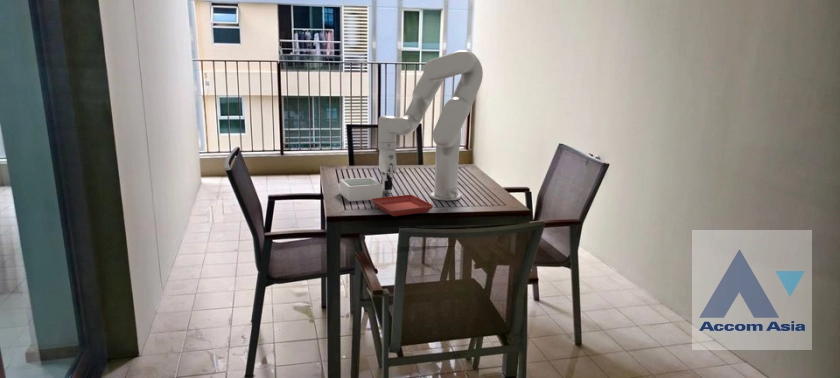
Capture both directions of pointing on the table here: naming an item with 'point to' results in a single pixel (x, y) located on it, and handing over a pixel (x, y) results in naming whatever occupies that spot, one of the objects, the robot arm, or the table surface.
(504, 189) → the table surface
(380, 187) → the walled box
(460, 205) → the table surface
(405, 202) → the plant saucer
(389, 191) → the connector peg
